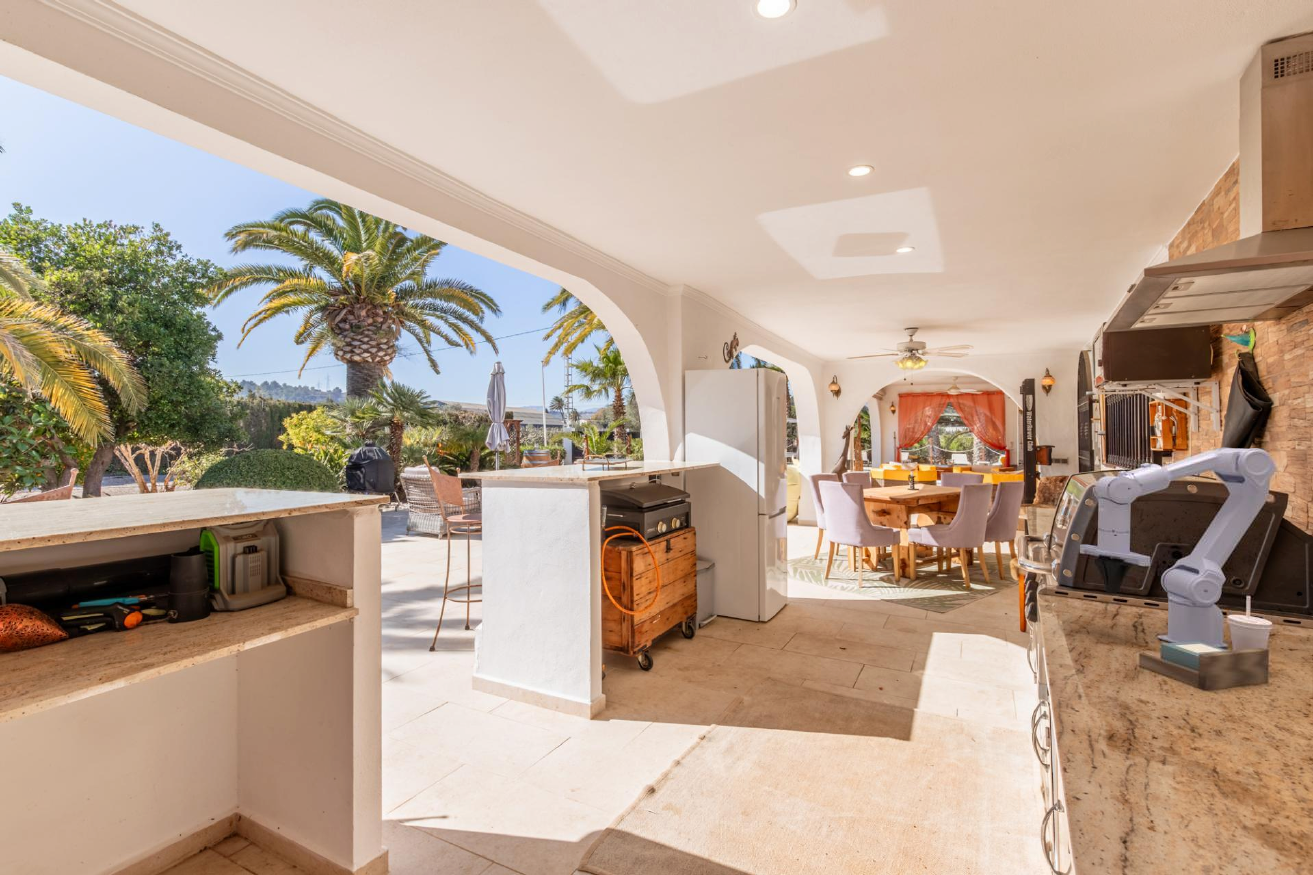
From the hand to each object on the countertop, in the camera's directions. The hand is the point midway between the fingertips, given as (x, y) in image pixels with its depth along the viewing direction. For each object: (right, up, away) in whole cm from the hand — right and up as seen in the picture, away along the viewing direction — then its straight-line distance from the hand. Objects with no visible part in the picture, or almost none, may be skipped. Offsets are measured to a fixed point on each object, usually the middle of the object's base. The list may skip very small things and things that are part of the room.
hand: (1112, 592), depth 136 cm
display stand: (+2, -11, -19) cm, 22 cm away
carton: (+2, -11, -20) cm, 22 cm away
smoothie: (+14, -11, -17) cm, 24 cm away
